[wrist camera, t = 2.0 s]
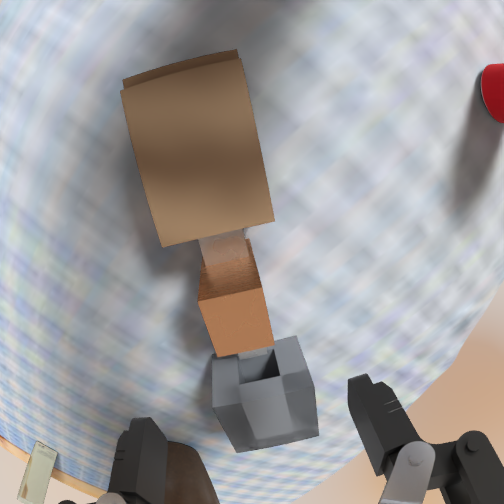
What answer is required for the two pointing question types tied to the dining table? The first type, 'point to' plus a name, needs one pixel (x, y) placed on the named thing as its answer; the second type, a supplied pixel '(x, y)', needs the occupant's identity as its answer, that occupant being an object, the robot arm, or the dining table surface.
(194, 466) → the plant pot
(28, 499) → the skincare box
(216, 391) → the socket
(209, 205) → the brown rectangular block
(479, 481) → the robot arm
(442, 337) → the dining table surface
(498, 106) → the beverage can
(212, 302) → the tan and grey bar
